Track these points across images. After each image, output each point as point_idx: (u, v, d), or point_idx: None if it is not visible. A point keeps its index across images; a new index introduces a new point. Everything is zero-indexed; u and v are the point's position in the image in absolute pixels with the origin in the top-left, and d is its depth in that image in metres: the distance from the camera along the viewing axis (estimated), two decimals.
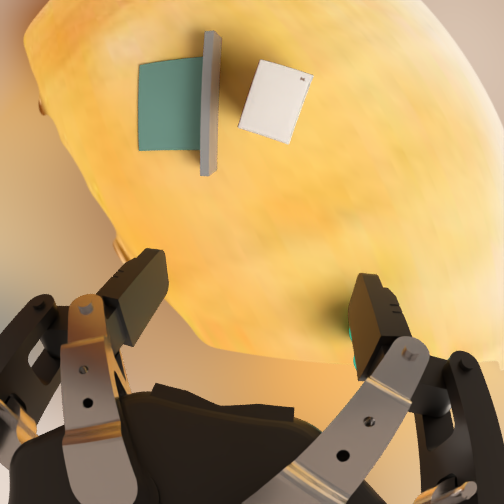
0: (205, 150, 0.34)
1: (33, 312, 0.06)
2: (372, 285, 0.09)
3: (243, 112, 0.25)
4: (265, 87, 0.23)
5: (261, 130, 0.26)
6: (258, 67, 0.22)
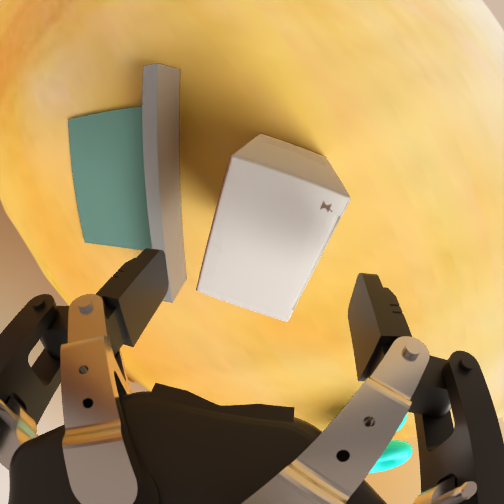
0: None
1: (33, 312, 0.06)
2: (372, 285, 0.09)
3: (203, 268, 0.14)
4: (245, 223, 0.12)
5: (239, 300, 0.15)
6: (228, 176, 0.12)
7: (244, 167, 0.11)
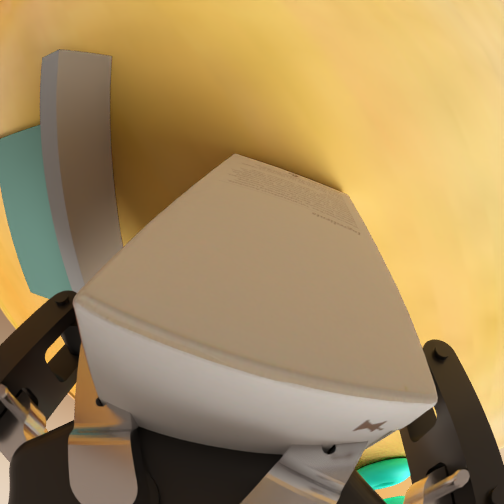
0: None
1: (55, 308, 0.07)
2: None
3: None
4: (162, 431, 0.04)
5: None
6: (87, 348, 0.03)
7: (114, 340, 0.03)
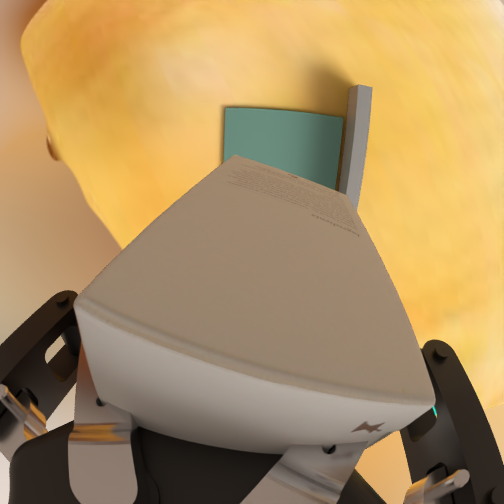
0: None
1: (55, 308, 0.07)
2: None
3: None
4: (162, 431, 0.04)
5: None
6: (88, 350, 0.03)
7: (115, 343, 0.03)
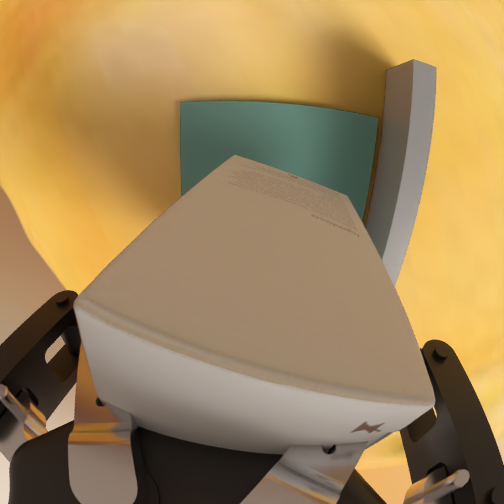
0: None
1: (55, 308, 0.07)
2: None
3: None
4: (162, 432, 0.04)
5: None
6: (88, 351, 0.03)
7: (115, 343, 0.03)
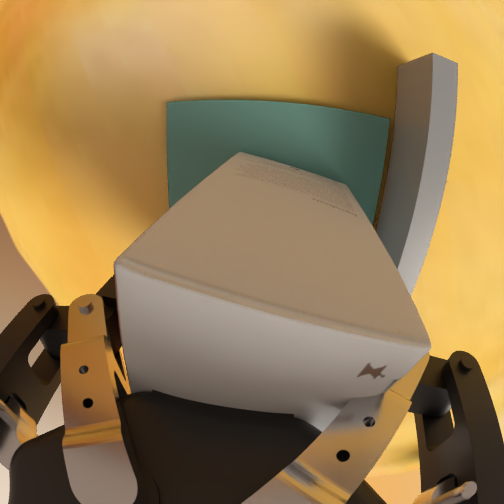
0: None
1: (33, 312, 0.06)
2: None
3: None
4: (185, 393, 0.05)
5: None
6: (122, 309, 0.04)
7: (150, 294, 0.04)
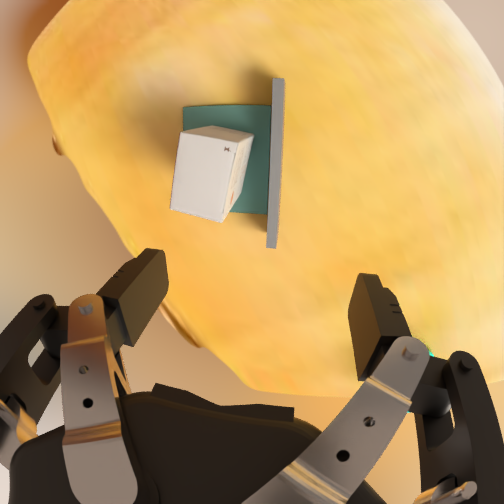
0: (273, 222, 0.32)
1: (33, 312, 0.06)
2: (372, 285, 0.09)
3: (172, 193, 0.25)
4: (189, 164, 0.24)
5: (192, 210, 0.26)
6: (179, 142, 0.23)
7: (186, 136, 0.22)
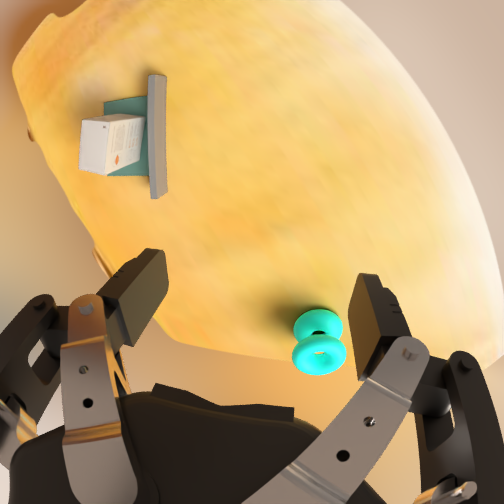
0: (153, 178, 0.40)
1: (33, 312, 0.06)
2: (372, 285, 0.09)
3: (79, 158, 0.33)
4: (86, 138, 0.31)
5: (89, 168, 0.34)
6: None
7: (84, 122, 0.30)
